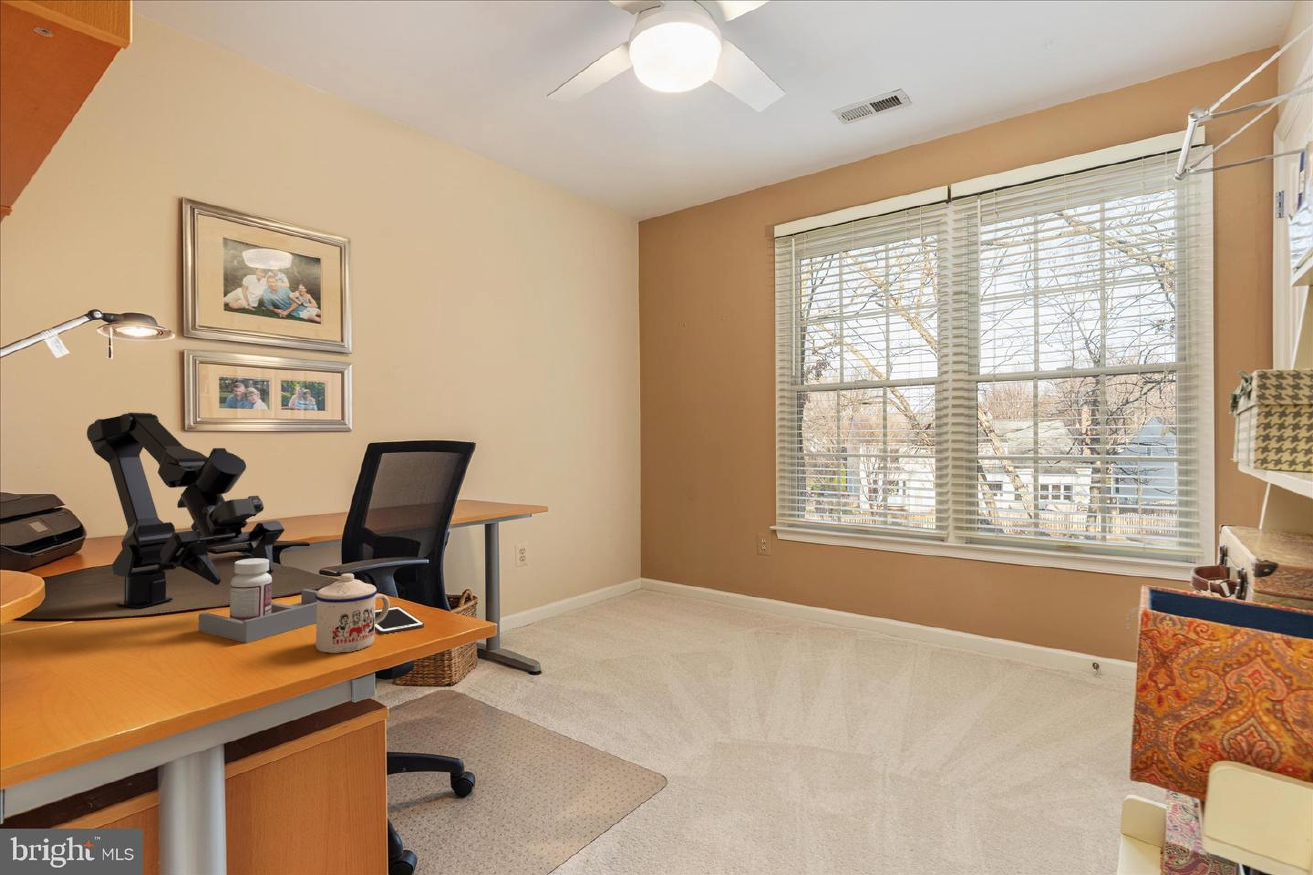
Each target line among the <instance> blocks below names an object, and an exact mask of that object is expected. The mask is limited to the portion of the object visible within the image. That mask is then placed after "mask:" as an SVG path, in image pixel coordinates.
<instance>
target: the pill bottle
mask: <svg viewBox="0 0 1313 875" xmlns="http://www.w3.org/2000/svg"><path fill="white" fill-rule="evenodd" d="M233 566H234V570H233V573H234V574H236V575H234V577H232V579H231V580H230V592H229V618H232V619H237V620H241V621H245V620H249V619H253V618H256V617H260V616H264V615H268V614H271V602H272V600H273V599H272V598H273V595H272V590H273V577H272V574H268V573H266V571H268V570H269V560H268V559H262V558H254V557H253V558H245V559H240V560H239V559H238V560H237V561H235V562H234V565H233Z"/></svg>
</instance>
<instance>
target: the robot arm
mask: <svg viewBox="0 0 1313 875" xmlns="http://www.w3.org/2000/svg"><path fill="white" fill-rule="evenodd" d="M86 437H87V439H88V441H89V442H90V444H91V447H92V449H93V451H94V453H95V454H96V455H97V456H99V457H100V458H101V459H103V460H104V461H105V462H107V463H108V464H109V468H110V471H111V474H112V478H113V482H114V485H115V489H116V491H117V492H116V493H117V496H118V498H119V502H120V505H121V506H120V507H121V509H122V511H123V516H124V518H125V522H126V525H127V530H126V531H125V534H124V536H123V538H122V540H121V551H120V552H119V554H118V555H117V557H116V558H115V559H114V561H113V562H112V563H111V564H112V565H111V566H112V571H113V575H114V576H117V577H123V578H124V591H123V593H124V597H123V598H124V600H123V601H118V602H115V606H116V607H117V606H118V607H127V608H136V609H141V608H142V609H144V608H147V607H150V606H154V605H159V604H162V603H163V604H164V603H166V602H170V601H173V600H174V599H173V597H170V596H167V579H166V578H167V577H166V576H167V574H166V571H170V570H172V571H173V570H176V569H177V568H178V567H181V568H183V569H185V570H187V571H190V572H192V573H194V574H195V575H197V576H200V577H201V578H203V579H204V580H207V582H210V583H212V584H214V585H215V586H218V585H220V583H221V581H222V579H221V578H220V574H219V572H218V570H217V567H216V566H215V564H214V562H213V561H212V560H211V558H210V556H209V553H208V549H210V548H222V547H228V546H229V547H230V546H236V545H242V544H246V545H247V547H248V549H250V550H251V551H250V554H251V556H252V557H253V559H254V558H262V559H268V560H269V570H268V571H266V573H268V574H270V575H272V574H273V572H274V560H273V546H274V545H275V543H276V542H277V541H278V540H279V538H280V537H281V535H282V534H283V533H284V532H285V528H284V527H283V525H282V523H281V521H277V520H271V521H261V522H257V523H256V525H255V526H254V527H253V528H252V530H251V531H243V532H242V529H244V528H246V526H247V525H248V521H247V520H249V519H250V518H253V517H256V516H257V515H258V514H260V513H261V512H263V511H264V510H265V509H264V508H265V506H264V503H263V501H262V499H261V498H260V496H259V495H249V496H248V497H246V498H236V499H229V500H225V498H224V496H223V495H226V494H227V493H229V492H230V491H232V489H233V488H234V486H235V485H236V483H237V482H238V481H239V479H240V478H241V477H242V475H243V474H244V472H245V471H246V469H247V463H246V462H245V460H244V459H243V458H241V457H240V456H238V455H236V454H234V453H232V452H229V451H228V450H227V449H226V447H214V448H212V449H211V451H210V452H209V455H208V456H207V455H205V454H203V453H202V452H200V451H197V450H194V449H191V448H187V447H185V446H184V445H183V443H181V442H180V441H179V440H178V439H177V438H176V437H175V436H174V435H173V434H172V433H171V432H170V431H169V430H168V429H167V428H166V427H165V426H164V425H163V424H161V422H160V420H159V417H158V416H157V415H156V414H153V413H149V412H128V413H123V414H121V415H118V416H113V417H109V418H97V419H95V421H94V422H92V423H91V424H90V425H89V426H87V430H86ZM143 449H145V451H146V452H147V453H148V454H149V455H150V456H151V457H152V458H153V459H154V460H155V461H156V462H157V464H158V465H159V466H158V470H157V473H158V475H159V477H160V479H161V480H162V481H163V483H164V484H165V486H167V487H168V488H171V489H172V488H185V489H183V490H184V491H182V493H181V494H180V498H179V499H178V501H177V504H176V505H177V506H176V507H177V509H183V508H186V509H187V512H188V514H189V515H190V516H191V519H192V521H193V523H192V524H191V526H190V528H191V529H192V530H186V531H177V532H176V527H175V525H174V523H173V522H171V521H169V522H164V521H163V520H161V519H160V518H159V515H158V512H157V508H156V505H155V501H154V499H153V497H152V496H153V495H152V492H151V489H150V486H149V482H148V480H147V477H146V474H145V470H144V466H143V463H142V459H141V453H142V451H143Z"/></svg>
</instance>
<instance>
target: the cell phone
mask: <svg viewBox="0 0 1313 875" xmlns="http://www.w3.org/2000/svg"><path fill="white" fill-rule="evenodd" d="M382 609H383V607H382V608H375V618H377V617H378V616H379V615H380V613H381V612H382ZM424 627H425V623H424V621H422V620H421V619H419V618H417V617H416V616H415V615H414V614H411V613H409V612H408V611H407V610H405V608H402V607H401V606H398V605H397V606H389V611H388V613H387V615H386V617H385V618H384V619H383V620H382V621H381V622H379V623H377V624H375V632H376V631H377V633H378V634H379V633H380V634H379V635H381V634H386V635H390V634H389V633H392V634H396V633H395V632H398V633H402V632H401V631H403V632H407V631H408V632H409V631H415V630H419V629H423V628H424Z"/></svg>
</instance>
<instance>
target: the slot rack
mask: <svg viewBox="0 0 1313 875" xmlns="http://www.w3.org/2000/svg"><path fill="white" fill-rule="evenodd" d="M318 591H319V590H316V589H315V590H314V589H309V588H303V589H301V593H300V594H301V595H300V596H301V599H300V600H301V601H300V602H298V603H297V602H296V603H294V604H289V605H287V604H282V603H278V602H272V601H271V614H268V615H264V616H260V617H256V618H253V619H249V620H245V621H241V620H237V619H232V618H230V617H227V616H225V615H224V616H223V615H220V614H214V613H210V612H206V611H204V612H200V613H198V632H202V633H205V634H210V635H212V636H215V637H217V636H218V637H221V638H223V639H224V638H226V639H228V640H233V641H237V642H241V643H245V644H248V643H252V642H255V641H258V640H262V639H266V638H269V637H272V636H273V637H274V636H276V635H279V634H283V633H285V632H289V631H293V630H296V629H300V628H304V627H307V626H310V625H314V624H317V599H316V597H315V596H316V595H317V592H318Z"/></svg>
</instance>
